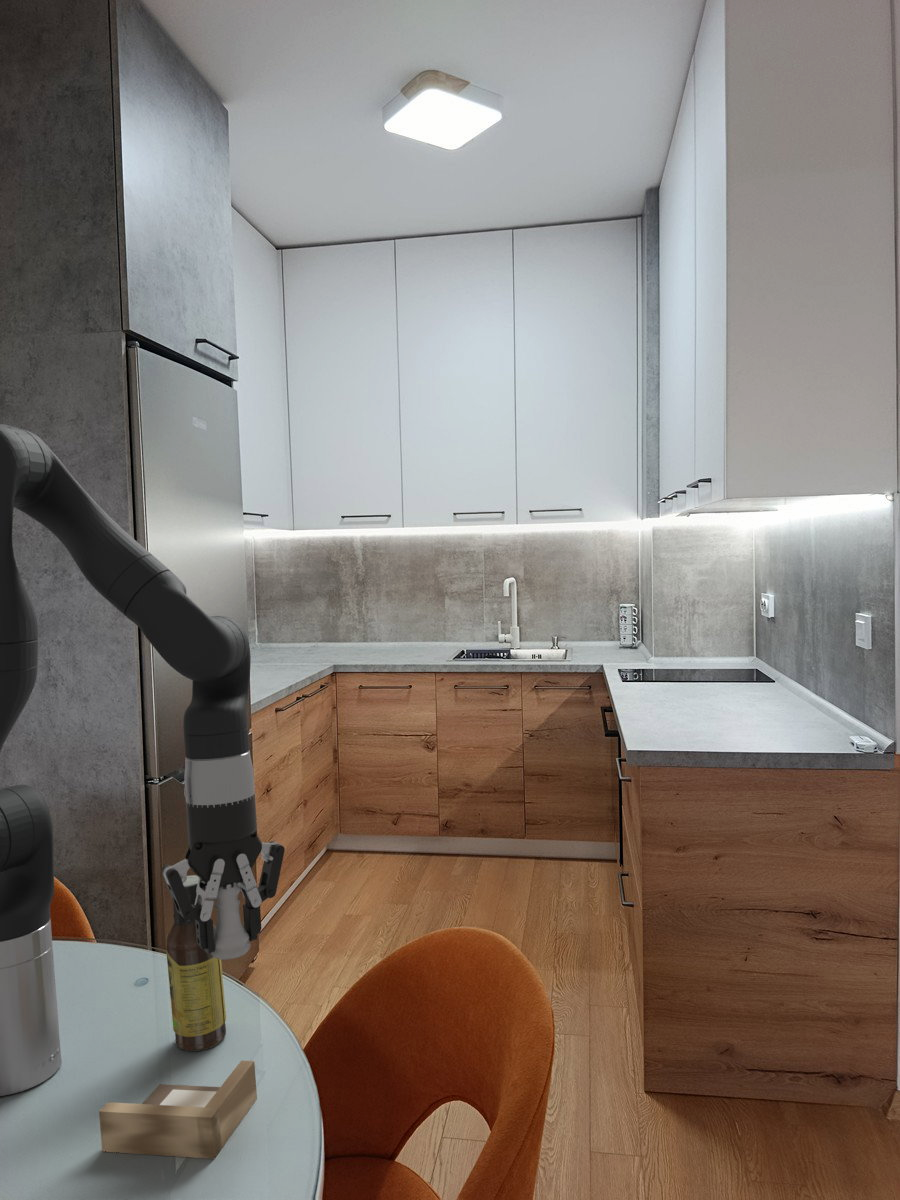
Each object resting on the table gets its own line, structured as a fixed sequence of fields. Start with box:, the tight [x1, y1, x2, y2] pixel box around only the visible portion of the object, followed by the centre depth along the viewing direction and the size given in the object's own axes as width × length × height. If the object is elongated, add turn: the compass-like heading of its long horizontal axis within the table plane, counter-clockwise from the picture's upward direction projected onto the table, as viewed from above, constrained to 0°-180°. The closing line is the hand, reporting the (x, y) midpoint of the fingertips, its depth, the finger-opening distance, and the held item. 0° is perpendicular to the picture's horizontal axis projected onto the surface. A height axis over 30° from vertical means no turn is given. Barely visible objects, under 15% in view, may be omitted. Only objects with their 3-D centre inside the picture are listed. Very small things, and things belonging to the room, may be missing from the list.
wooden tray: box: [98, 1060, 258, 1160], centre depth 89 cm, size 12×11×4 cm
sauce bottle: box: [165, 874, 227, 1052], centre depth 105 cm, size 6×6×20 cm
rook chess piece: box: [211, 882, 251, 961], centre depth 97 cm, size 4×4×8 cm
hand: (230, 943), depth 97 cm, fingers closed on rook chess piece, 4 cm apart
